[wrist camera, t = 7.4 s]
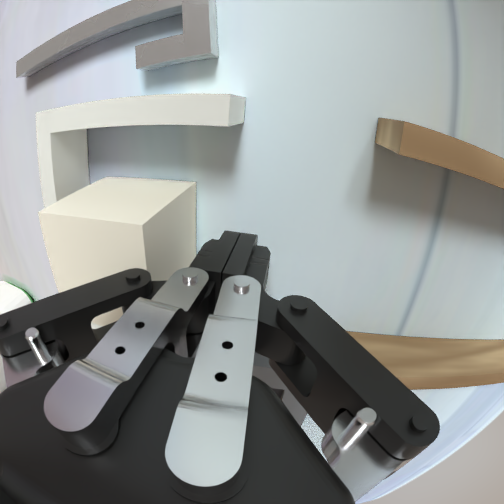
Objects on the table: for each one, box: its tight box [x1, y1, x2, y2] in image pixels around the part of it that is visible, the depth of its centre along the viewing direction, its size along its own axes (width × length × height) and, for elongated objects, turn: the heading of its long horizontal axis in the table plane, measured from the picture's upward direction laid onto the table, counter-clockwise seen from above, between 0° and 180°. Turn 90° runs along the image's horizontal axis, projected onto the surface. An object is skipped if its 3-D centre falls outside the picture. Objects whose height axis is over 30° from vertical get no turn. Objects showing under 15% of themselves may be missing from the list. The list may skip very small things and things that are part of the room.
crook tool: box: [16, 0, 219, 78], centre depth 10 cm, size 4×13×1 cm, turn 93°
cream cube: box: [38, 177, 196, 326], centre depth 13 cm, size 6×6×6 cm
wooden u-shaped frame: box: [346, 118, 504, 390], centre depth 12 cm, size 13×20×4 cm
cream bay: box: [36, 94, 246, 329], centre depth 14 cm, size 13×10×3 cm
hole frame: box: [252, 352, 307, 427], centre depth 20 cm, size 9×9×1 cm
